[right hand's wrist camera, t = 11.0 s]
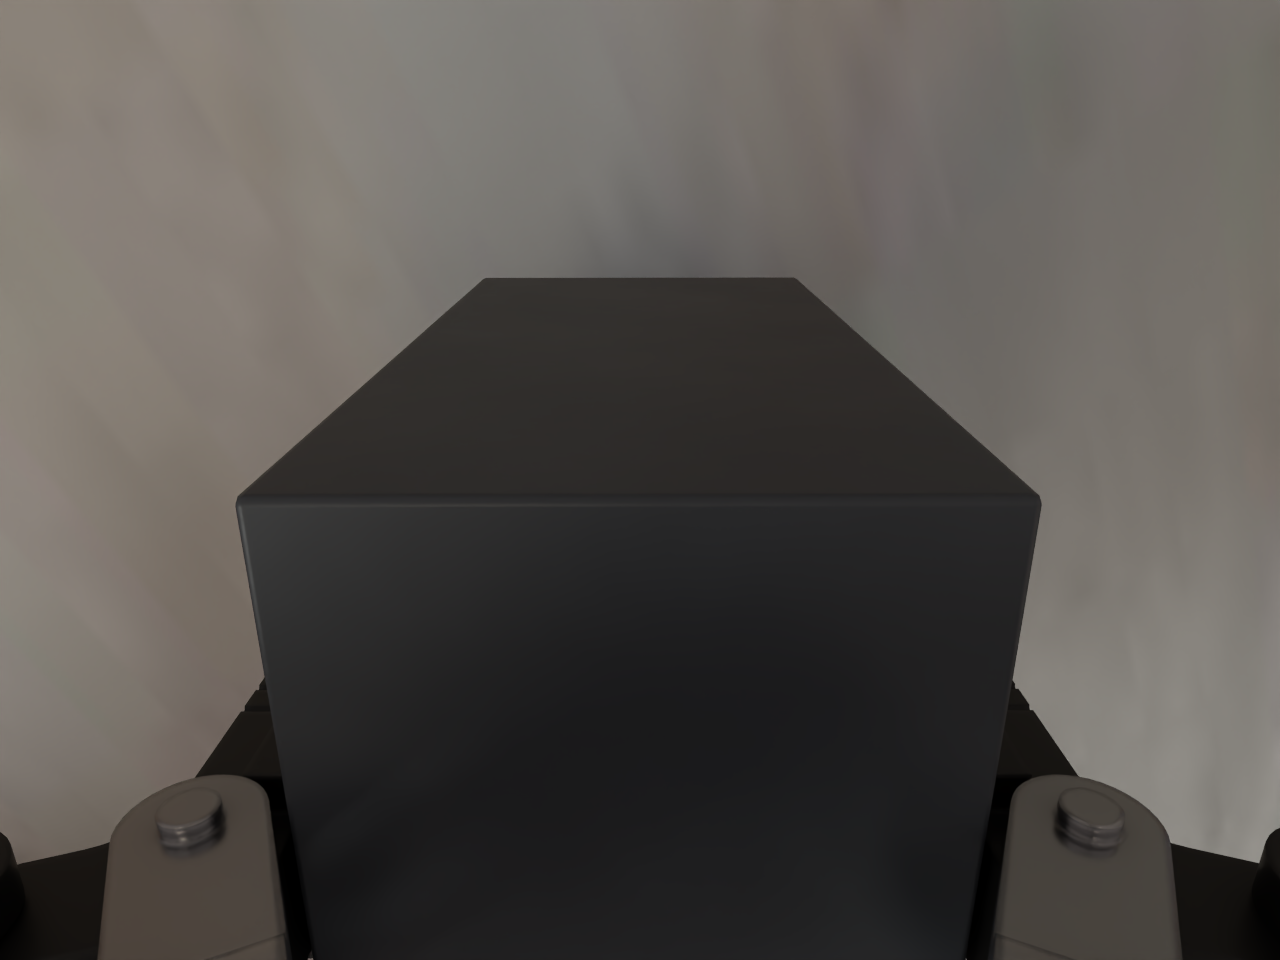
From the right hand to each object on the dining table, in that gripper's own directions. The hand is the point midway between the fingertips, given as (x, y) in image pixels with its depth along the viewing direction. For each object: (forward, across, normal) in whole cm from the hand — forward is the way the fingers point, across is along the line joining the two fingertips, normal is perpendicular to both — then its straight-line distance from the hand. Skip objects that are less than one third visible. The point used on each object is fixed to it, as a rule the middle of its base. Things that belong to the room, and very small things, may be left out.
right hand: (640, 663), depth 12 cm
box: (+7, 0, -8) cm, 11 cm away
